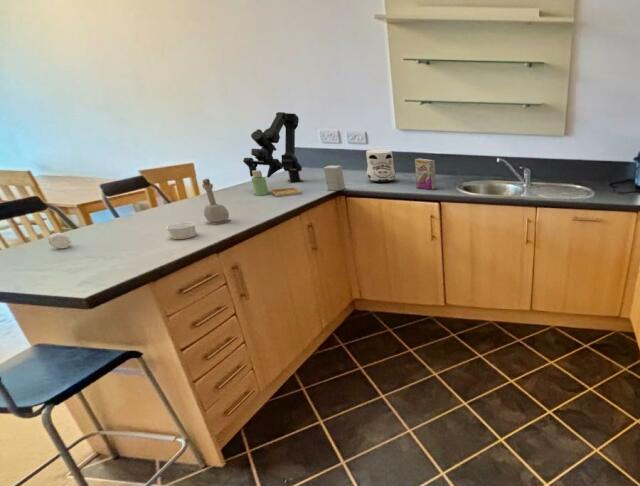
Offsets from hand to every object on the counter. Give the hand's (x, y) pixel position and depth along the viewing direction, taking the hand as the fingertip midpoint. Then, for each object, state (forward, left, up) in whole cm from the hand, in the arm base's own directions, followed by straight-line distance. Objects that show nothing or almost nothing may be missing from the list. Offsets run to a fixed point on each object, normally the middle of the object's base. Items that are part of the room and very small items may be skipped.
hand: (259, 176), depth 221 cm
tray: (+5, +10, -9) cm, 14 cm away
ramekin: (+61, -39, -9) cm, 73 cm away
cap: (+1, -1, 0) cm, 1 cm away
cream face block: (+1, +67, -9) cm, 68 cm away
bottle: (+1, -1, -9) cm, 9 cm away
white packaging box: (+9, +36, -9) cm, 38 cm away
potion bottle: (+46, -26, -9) cm, 54 cm away
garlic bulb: (+52, -74, -9) cm, 91 cm away
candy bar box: (+33, +81, -9) cm, 88 cm away
